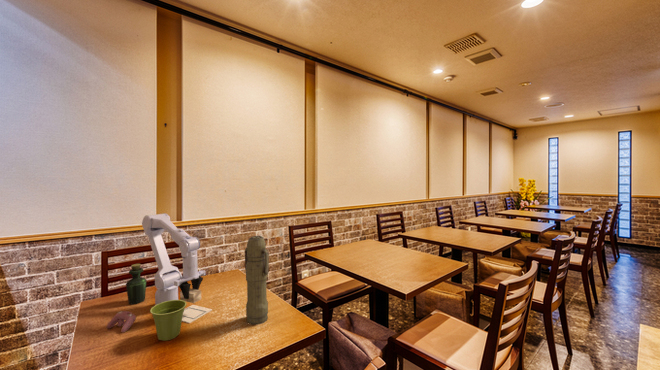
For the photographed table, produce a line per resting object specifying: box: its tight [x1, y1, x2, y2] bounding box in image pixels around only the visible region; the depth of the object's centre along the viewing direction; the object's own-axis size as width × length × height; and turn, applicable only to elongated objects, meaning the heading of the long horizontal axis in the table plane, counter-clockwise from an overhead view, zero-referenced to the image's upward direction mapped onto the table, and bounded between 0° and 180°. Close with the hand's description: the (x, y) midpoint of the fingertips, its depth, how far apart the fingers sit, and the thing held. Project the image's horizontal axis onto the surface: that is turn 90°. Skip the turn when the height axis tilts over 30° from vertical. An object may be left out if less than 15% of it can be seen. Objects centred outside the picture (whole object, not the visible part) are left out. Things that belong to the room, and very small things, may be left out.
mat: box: [182, 304, 213, 324], centre depth 119 cm, size 12×12×1 cm
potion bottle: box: [125, 263, 147, 305], centre depth 131 cm, size 8×8×18 cm
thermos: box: [244, 235, 270, 326], centre depth 114 cm, size 9×12×35 cm
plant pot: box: [149, 299, 188, 342], centre depth 103 cm, size 12×12×11 cm
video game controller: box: [106, 310, 137, 333], centre depth 109 cm, size 10×5×7 cm, turn 71°
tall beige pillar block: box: [179, 287, 202, 304], centre depth 119 cm, size 4×8×4 cm, turn 68°
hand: (190, 296), depth 119 cm, fingers closed on tall beige pillar block, 4 cm apart
